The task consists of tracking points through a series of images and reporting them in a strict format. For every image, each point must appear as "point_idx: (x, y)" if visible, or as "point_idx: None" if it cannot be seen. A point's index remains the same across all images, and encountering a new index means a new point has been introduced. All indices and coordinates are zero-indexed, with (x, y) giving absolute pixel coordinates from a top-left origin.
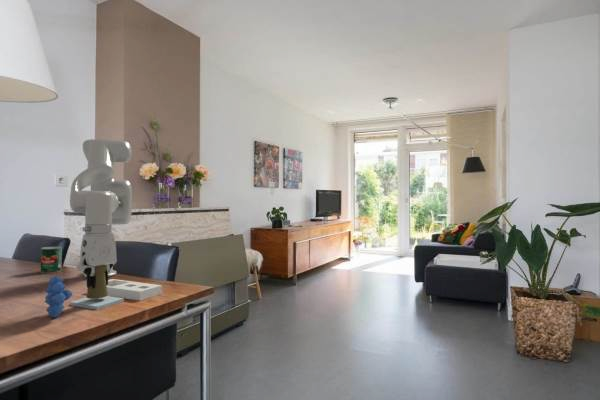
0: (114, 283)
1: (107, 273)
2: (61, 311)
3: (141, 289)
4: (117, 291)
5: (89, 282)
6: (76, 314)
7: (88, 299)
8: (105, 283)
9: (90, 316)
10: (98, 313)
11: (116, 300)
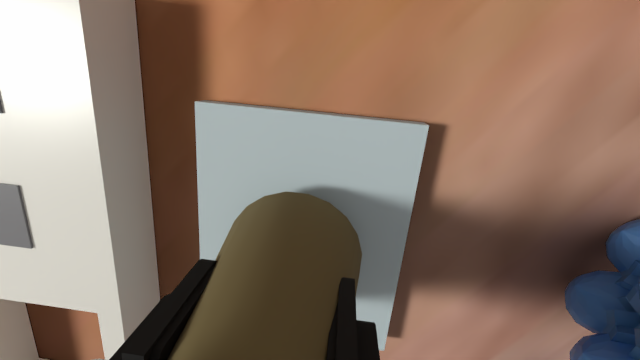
0: None
1: (134, 352)
2: (632, 227)
3: (21, 30)
4: (127, 232)
5: (374, 356)
6: (539, 169)
7: None
8: (237, 259)
9: (570, 42)
10: (493, 45)
11: (256, 112)
